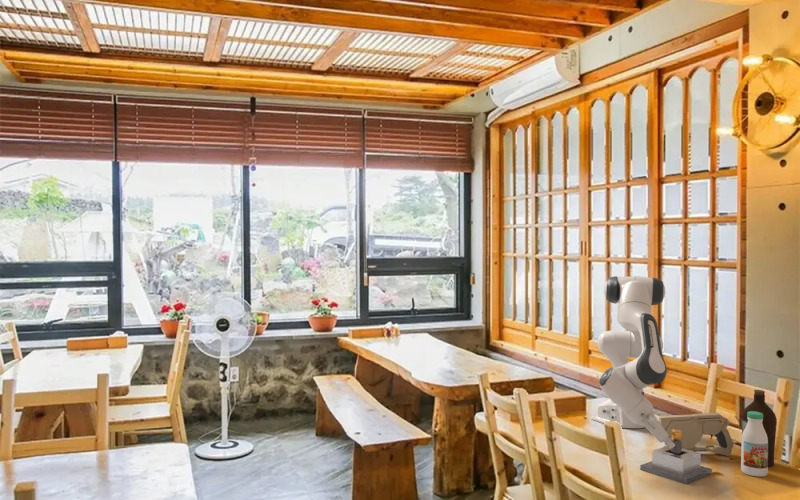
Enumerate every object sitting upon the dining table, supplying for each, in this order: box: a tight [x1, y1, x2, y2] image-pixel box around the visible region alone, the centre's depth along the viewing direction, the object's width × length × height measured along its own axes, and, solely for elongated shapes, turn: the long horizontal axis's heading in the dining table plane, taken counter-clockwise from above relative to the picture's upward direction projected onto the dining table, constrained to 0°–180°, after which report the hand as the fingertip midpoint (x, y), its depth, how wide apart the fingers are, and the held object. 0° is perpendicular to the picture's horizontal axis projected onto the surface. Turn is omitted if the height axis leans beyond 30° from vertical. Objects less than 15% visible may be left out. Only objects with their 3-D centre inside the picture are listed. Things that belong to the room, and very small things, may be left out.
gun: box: [658, 412, 734, 457], centre depth 232 cm, size 24×3×15 cm, turn 84°
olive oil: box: [741, 389, 778, 468], centre depth 223 cm, size 11×11×25 cm
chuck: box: [639, 446, 713, 485], centre depth 213 cm, size 16×16×6 cm
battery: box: [671, 429, 682, 456], centre depth 213 cm, size 3×3×12 cm
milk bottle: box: [740, 411, 769, 477], centre depth 213 cm, size 8×8×20 cm
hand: (670, 442), depth 213 cm, fingers open, 8 cm apart
